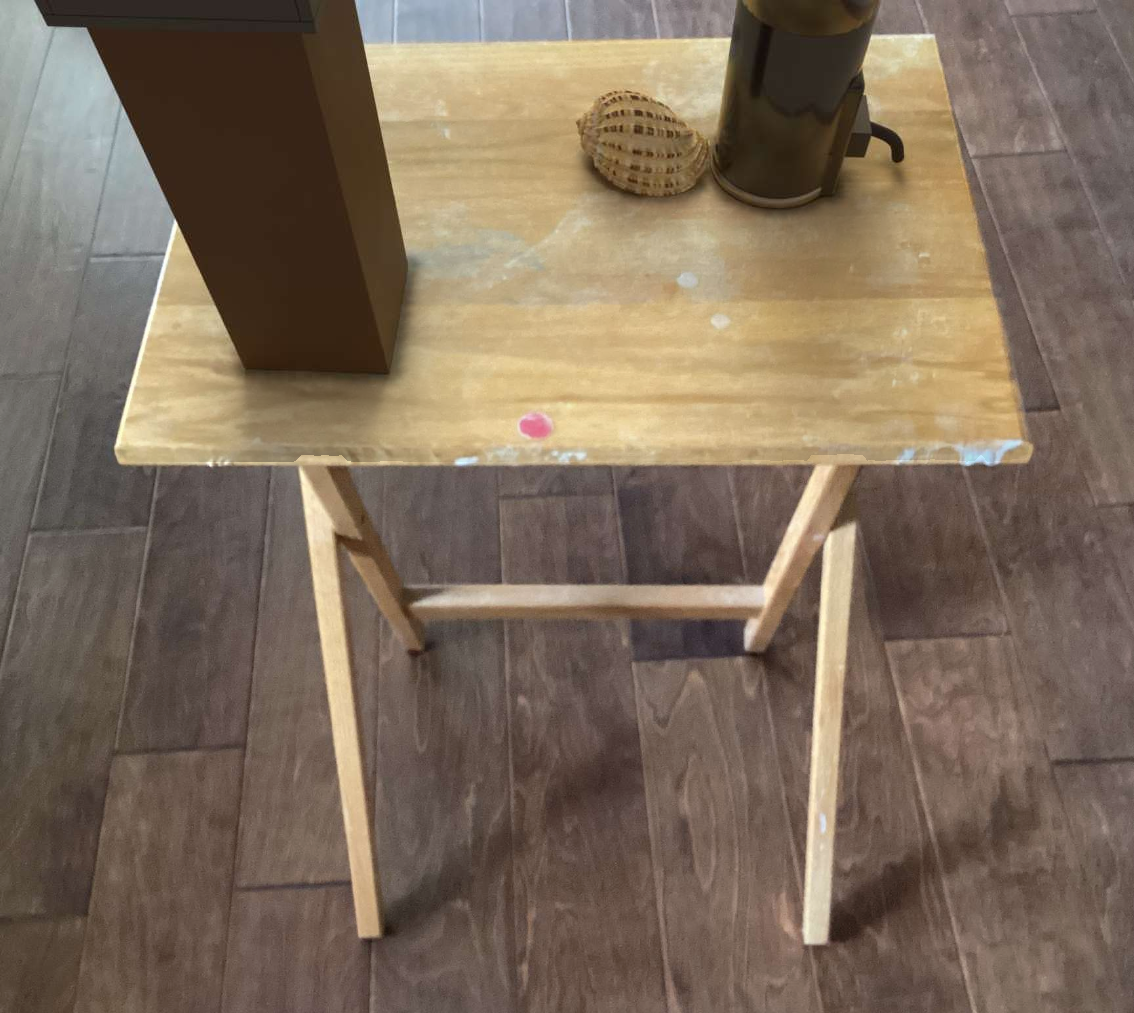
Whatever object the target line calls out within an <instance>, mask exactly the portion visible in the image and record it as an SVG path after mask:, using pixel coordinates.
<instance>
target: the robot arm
mask: <svg viewBox="0 0 1134 1013" xmlns="http://www.w3.org/2000/svg"><path fill="white" fill-rule="evenodd" d="M881 3H882V0H736V4H735V5H736V6H735V11H734V18H733V24H732V30H731V36H730V44H729V51H728V57H727V62H726V69H725V77H724V83H723V89H722V95H721V102H720V108H719V113H718V114H719V115H718V121H717V128H716V132H715V136H714V143H713V146H712V150H711V156H710V165H711V171H712V173H713V175H714V178H715V180H716V181H717V183H718V184H719V185H720V186H721V187H722V189H723V190H725V191H726V192H727V193H729V194H730V195H731V196H733V197H734V198H737V199H739V200H740V201H742V202H745V203H748V204H750V205H754V206H757V207H762V208H769V209H785V208H794V207H798V206H801V205H804V204H807V203H809V202H811V201H813V200H815V199H817V198H818V197H819V196H820V197H821V196H833V195H834V193H835V190H836V187H837V184H838V180H839V178H840V173H841V170H842V167H843V165H844V161H845V158H856V159H858V158H859V159H861V158H862V159H865V157H866V154H867V151H868V149H869V145H870V142H871V138H876V139H878V140H880V141H883V142H884V143H886V144H887V145H888V146H889V147H890V153H891V154H890V155H891V161H892V163H894V164H900V163H901V162H903V161H904V160H905V146H904V142H903V140H902V139H901V137H900V135H899V134H898V133H897V132H895V131H894V130H892V129H891V128H889V127H887V126H884V125H881V124H878V123H876V122H873V121H871V118H870V112H869V105H868V104H869V103H868V98H867V94H865V90H866V80H865V76H864V69H863V67H864V66H863V65H864V62H865V58H866V55H867V51H868V48H869V44H870V41H871V38H872V34H873V31H874V27H875V25H876V20H877V17H878V14H879V10H880V7H881Z"/></svg>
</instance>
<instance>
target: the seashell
mask: <svg viewBox="0 0 1134 1013" xmlns="http://www.w3.org/2000/svg"><path fill="white" fill-rule="evenodd" d="M575 123H576V126H577V133H578V135H579V136H580V139H579V140H580V142H579V144H580V147H581V148H582V149H583V151H584V152H585V153H587V154H588V155H590V156H591V157H592V159H593V166H594V167H595V169H596V170H597V172H599V173H600V174H601V175H602V176H603V177H604V178H605V179H607V180H608V182H610V183H611V184H613V185H615V186H616V187H618V188H620V189H623V190H625V191H627V192H631V193H635V194H638V195H641V196H642V195H643V196H650V197H666V196H668V197H669V196H674V195H677V194H678V195H679V194H681V193H683V192H686V191H688V190H689V189H691V188H693V187H694V186H695V185H696V184H697V183H698V182H697V179H698V178H699V177H700V176H701V175H702V174H703V173H705V171H706V169H707V168H706V167H707V166H708V164H709V162H710V160H711V154H712V146H711V145H712V144H711V143H712V142H711V141H709V140H708V138H707V137H705V136H703V133H702V132H699V131H698V129H696V128H694V129H693V128H691V127H687V124H686V122H685V121H683V120H681V119H679V117H677V115H676V114H675V112H674V111H673V110H672V109H671V108H670V107H669V106H668V105H666V104H665V103H663V102H661V101H657V100H656V99H654V98H652V97H650V96H648V95H645V94H643V93H640V92H637V91H631V90H623V89H622V90H619V89H617V90H613V91H610V92H608V93H606V94H603V95H602V96H599V97H598V98H597V99H594V104H593V105H590V110H586V111H585V112H584V113H583V114H582V116H581V117H580V119H578V120H576V121H575Z"/></svg>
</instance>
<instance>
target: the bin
mask: <svg viewBox="0 0 1134 1013" xmlns="http://www.w3.org/2000/svg"><path fill="white" fill-rule="evenodd" d="M33 1H34V3H35V5H36V7H37V9H38V12H39V13H40V15H41V16H42V19H43V21H44V23H45V25H46V26H47V27H48V28H49V27H50V28H51V27H53V28H55V27H56V28H57V27H58V28H84V29H85V28H86V29H87V33H88V35H89V36H90V39H91V41H92V43H93V45H94V47H95V50H96V52H97V54H98V56H99V58H100V61H101V63H102V65H103V67H104V69H105V71H106V73H107V76H108V77H109V79H110V82H111V84H112V87H113V88H114V91H115V92H116V95H117V97H118V99H119V101H120V103H121V106H122V108H123V110H124V112H125V114H126V116H127V118H128V121H129V123H130V125H131V127H132V130H133V131H134V134H135V136H136V139H137V140H138V142H139V145H140V146H141V149H142V151H143V153H144V155H145V157H146V159H147V161H148V164H149V166H150V168H151V170H152V172H153V175H154V177H155V178H156V180H157V183H158V186H159V187H160V189H161V192H162V194H163V196H164V198H165V200H166V203H167V205H168V207H169V209H170V211H171V213H172V215H173V218H174V220H175V222H176V224H177V226H178V228H179V230H180V232H181V235H182V237H183V239H184V242H185V244H186V245H187V248H188V250H189V252H190V254H191V256H192V259H193V261H194V263H195V266H196V267H197V270H198V271H199V274H200V275H201V279H202V280H203V283H204V284H205V287H206V288H207V290H208V293H209V295H210V297H211V299H212V301H213V304H214V305H215V308H216V310H217V312H218V314H219V317H220V318H221V321H222V323H223V325H224V328H225V329H226V330H225V331H226V332H227V334H228V336H229V338H230V340H231V342H232V344H233V347H234V349H235V351H236V354H237V356H238V357H239V360H240V362H241V364H242V366H243V368H244V369H256V370H257V369H258V370H280V371H281V370H282V371H283V370H284V371H307V372H309V371H311V372H335V373H336V372H337V373H339V372H340V373H359V374H360V373H363V374H364V373H367V374H390V371H391V367H392V360H393V355H394V350H395V343H396V338H397V332H398V326H399V320H400V314H401V310H402V303H403V299H404V298H403V296H404V292H405V286H406V281H407V274H408V268H409V263H408V257H407V252H406V246H405V243H404V236H403V232H402V227H401V222H400V217H399V213H398V212H399V211H398V207H397V203H396V197H395V193H394V186H393V183H392V178H391V173H390V168H389V163H388V162H389V161H388V158H387V152H386V148H385V142H384V137H383V133H382V127H381V124H380V123H381V122H380V119H379V112H378V108H377V104H376V103H377V102H376V99H375V94H374V87H373V84H372V78H371V73H370V69H369V64H368V57H367V52H366V48H365V43H364V39H363V35H362V34H363V33H362V28H361V24H360V19H359V15H358V9H357V8H358V7H357V3H356V0H33Z"/></svg>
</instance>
